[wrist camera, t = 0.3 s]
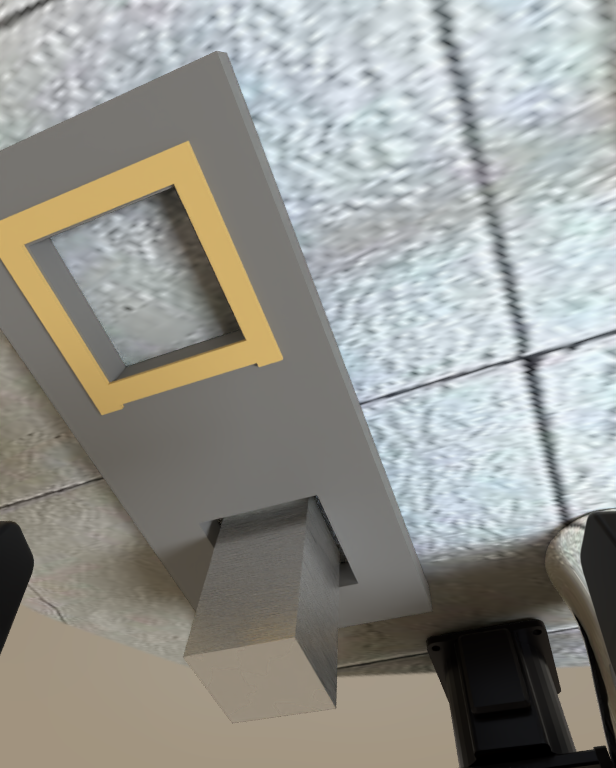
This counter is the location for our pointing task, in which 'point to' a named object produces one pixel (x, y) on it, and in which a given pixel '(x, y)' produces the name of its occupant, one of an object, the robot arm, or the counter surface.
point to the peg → (269, 614)
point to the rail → (206, 359)
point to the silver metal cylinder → (584, 619)
